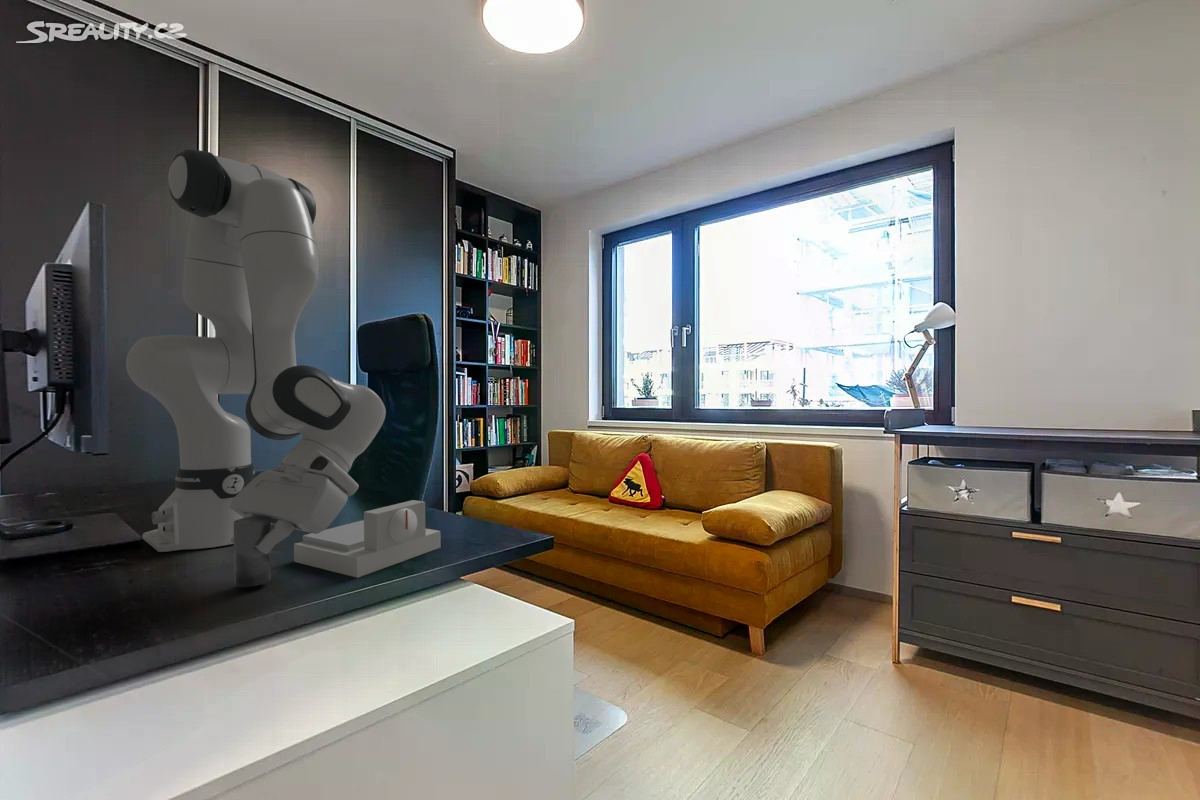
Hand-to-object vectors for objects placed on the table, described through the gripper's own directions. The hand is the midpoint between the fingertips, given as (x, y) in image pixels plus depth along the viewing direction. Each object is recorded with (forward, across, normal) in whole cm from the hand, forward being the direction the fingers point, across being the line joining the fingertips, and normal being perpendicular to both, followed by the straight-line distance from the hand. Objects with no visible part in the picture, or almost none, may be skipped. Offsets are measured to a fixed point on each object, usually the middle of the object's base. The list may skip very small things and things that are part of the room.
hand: (247, 548), depth 74 cm
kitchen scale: (-9, +2, +17) cm, 20 cm away
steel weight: (+3, 0, +4) cm, 5 cm away
